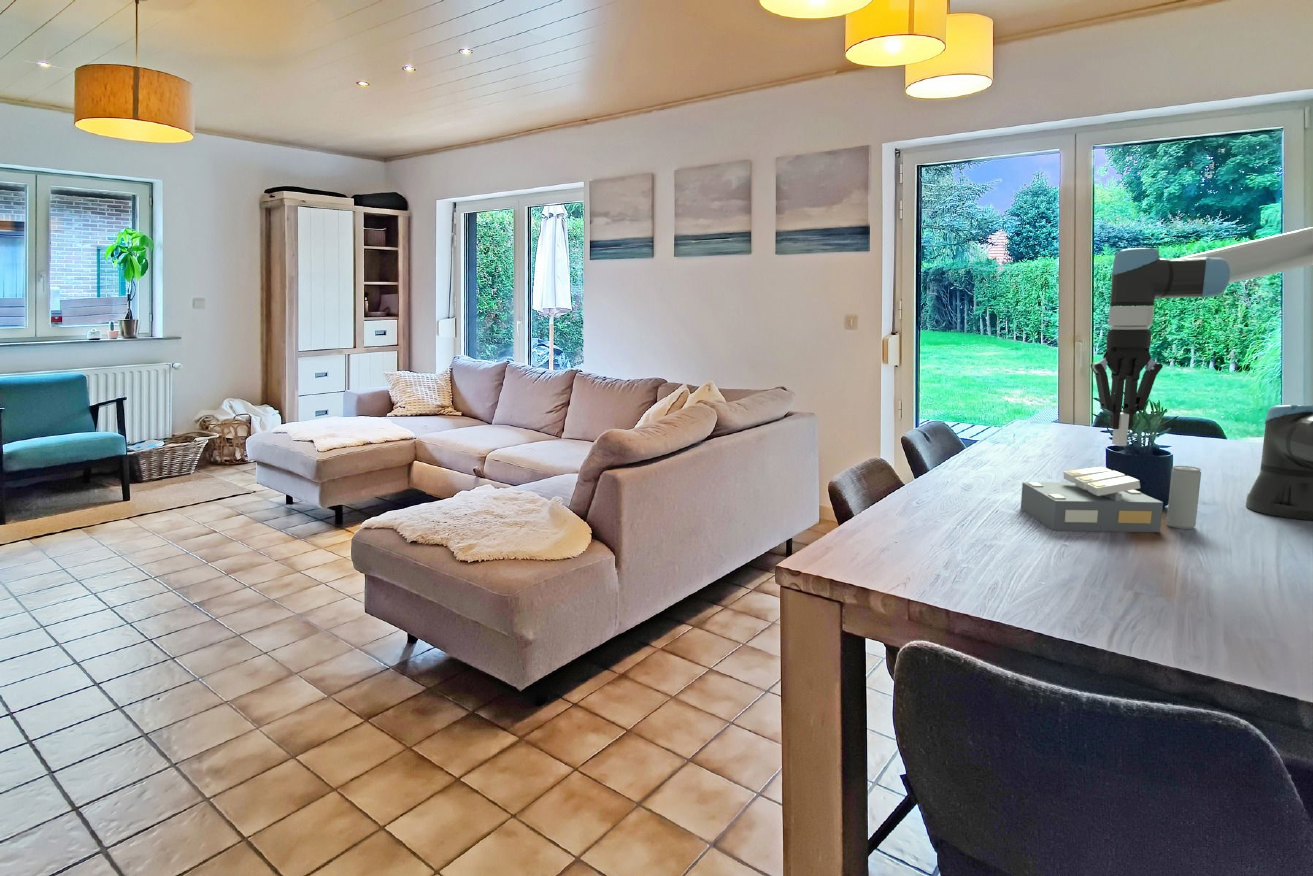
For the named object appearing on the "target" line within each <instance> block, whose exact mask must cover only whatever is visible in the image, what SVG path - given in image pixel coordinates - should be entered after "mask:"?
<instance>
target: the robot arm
mask: <svg viewBox="0 0 1313 876" xmlns="http://www.w3.org/2000/svg"><path fill="white" fill-rule="evenodd" d="M1311 266H1313V226H1311V227H1307V228H1302V229H1299V230H1294V231H1290V232H1285V233H1281V234H1276V235H1272V236H1267V237H1264V238H1260V239H1255V240H1254V239H1253V240H1250V241H1247V242H1243V243H1242V242H1241V243H1238V244H1233V245H1228V246H1225V247H1221V248H1216V249H1212V250H1208V251H1204V252H1200V253H1196V254H1190V255H1187V256H1183V257H1179V258H1161V256H1160V250H1159V249H1158V248H1155V247H1136V248H1125V249H1120V250H1119V251H1117V252H1116V253H1115V255H1114V258H1113V265H1112V272H1111V285H1110V287H1111V288H1110V304H1109V311H1108V312H1109V313H1108V321H1107V325H1108V326H1109V327H1111V328H1110V329H1108V330H1107V333H1106V334H1107V335H1106V342H1105V343H1106V345H1105V347H1106V351H1105V353H1104V355H1102V356H1103V357H1102V359H1101V360H1099V361H1097V362H1092V363H1091V364H1090V368H1091V370H1092V371H1093V373H1094V376H1095V383H1096V387H1097V393H1098V394H1097V395H1098V398H1099V405H1100V409H1102V410H1105V411H1107V412H1109V413H1110V414H1109V415H1110V416H1109V425H1108V426H1109V428H1110V429H1112V430H1113V431H1112V439H1111V441H1112V442H1111V444H1112V445H1115V446H1118V447H1126V446H1128V445H1127V442H1128V441H1127V440H1128V430H1132V429H1133V424H1134V415H1135V414H1137V413H1138V412H1139V411H1140V412H1141V411H1145V409H1146V406H1147V403H1148V400H1149V397H1150V395H1151V393H1152V389H1153V386H1154V383H1155V381H1156V378H1157V375H1158V374H1159V373H1160V371H1161V370H1162V369H1163V367H1164V366H1163V364H1162V363H1159V362H1157V361H1155V360H1153V359H1152V356H1151V353H1150V348H1151V343H1152V333H1153V332H1152V331H1151V329H1149V327H1152V326H1153V323H1154V322H1153V321H1154V312H1155V311H1154V309H1155V302H1156V301H1155V300H1159V299H1160V300H1161V299H1180V298H1181V299H1182V298H1183V299H1184V298H1202V299H1203V298H1210V297H1211V298H1213V297H1218V296H1221V295H1222V294H1223V293H1224V292H1225V291H1226V289H1227V287H1228V286H1229V284H1232V283H1237V282H1241V281H1246V280H1251V279H1255V278H1260V277H1265V276H1270V275H1273V274H1278V273H1283V272H1288V271H1291V270H1292V271H1293V270H1297V269H1301V268H1306V267H1311ZM1107 367H1108V368H1107ZM1108 369H1109V370H1110V371H1111V375H1110V378H1111V389H1110V383H1109V378H1108V374H1107V370H1108ZM1143 369H1145V370H1144V372H1143V374H1142V378H1141V380H1140V376H1141V372H1142V371H1143ZM1139 380H1140V383H1139ZM1138 383H1139V386H1138ZM1114 393H1115V394H1114ZM1122 411H1123V412H1122ZM1263 435H1264V436H1263V445H1262V453H1261V454H1262V455H1261V462H1260V470H1259V473H1258V476H1257V478H1256V479H1255V481H1254V483H1253V485H1252V487H1251V489H1250V491H1249V492H1248V494H1247V496H1246V500H1245V507H1246V508H1247V509H1249V510H1250V511H1251V510H1252V511H1255V512H1257V513H1261V514H1264V515H1270V516H1276V517H1281V518H1287V519H1288V518H1289V519H1296V520H1308V521H1309V520H1310V521H1311V520H1313V404H1279V405H1272V406H1270V408H1268V411H1267V415H1266V418H1265V421H1264V434H1263Z"/></svg>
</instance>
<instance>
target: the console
mask: <svg viewBox="0 0 1313 876" xmlns="http://www.w3.org/2000/svg"><path fill="white" fill-rule="evenodd" d="M1021 485H1022V486H1021V487H1022V488H1021V498H1020V499H1021V500H1020V509H1021V510H1022V511H1023V512H1025V513H1026V514H1028V515H1029V516H1031V517H1032V518H1033V519H1036V520H1037V521H1038V522H1040V523H1042V524H1043V525H1044V526H1045V527H1047V528H1049V529H1051V530H1052V531H1059V532H1060V531H1067V532H1074V531H1075V532H1077V531H1078V532H1125V533H1128V532H1129V533H1133V532H1134V533H1135V532H1136V533H1161V527H1162V517H1163V509H1164V508H1163V506H1164V502H1163V501H1161V500H1159V499H1157V498H1154V497H1151V496H1149V495H1147V494H1145V493H1143V492H1141V491H1138V490H1137V489H1133V490H1128V491H1122V492H1117V493H1111V494H1106V495H1100V496H1097V495H1095V494H1093V493H1091V492H1089V491H1088V490H1087V489H1086V490H1084V489H1082V488H1080V487H1078V486H1076V485H1075V483H1072V482H1043V481H1041V482H1040V481H1039V482H1037V481H1035V482H1031V481H1029V482H1028V481H1026V482H1025V481H1022V484H1021Z"/></svg>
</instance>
